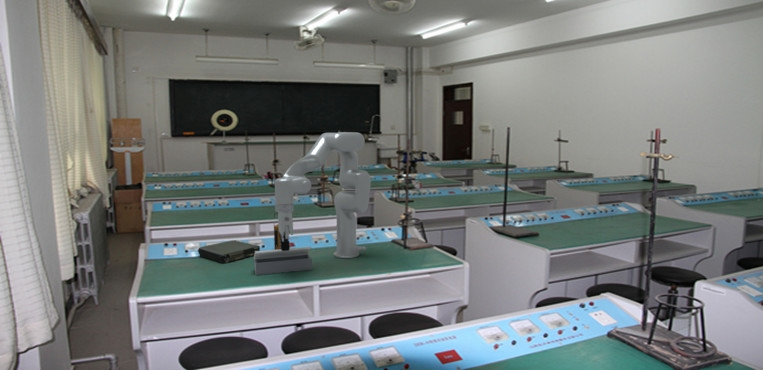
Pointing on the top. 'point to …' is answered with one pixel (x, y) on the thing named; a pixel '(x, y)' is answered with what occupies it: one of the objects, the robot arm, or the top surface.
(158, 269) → the top surface
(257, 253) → the panel
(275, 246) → the multimeter
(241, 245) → the network switch
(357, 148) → the robot arm
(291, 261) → the block
